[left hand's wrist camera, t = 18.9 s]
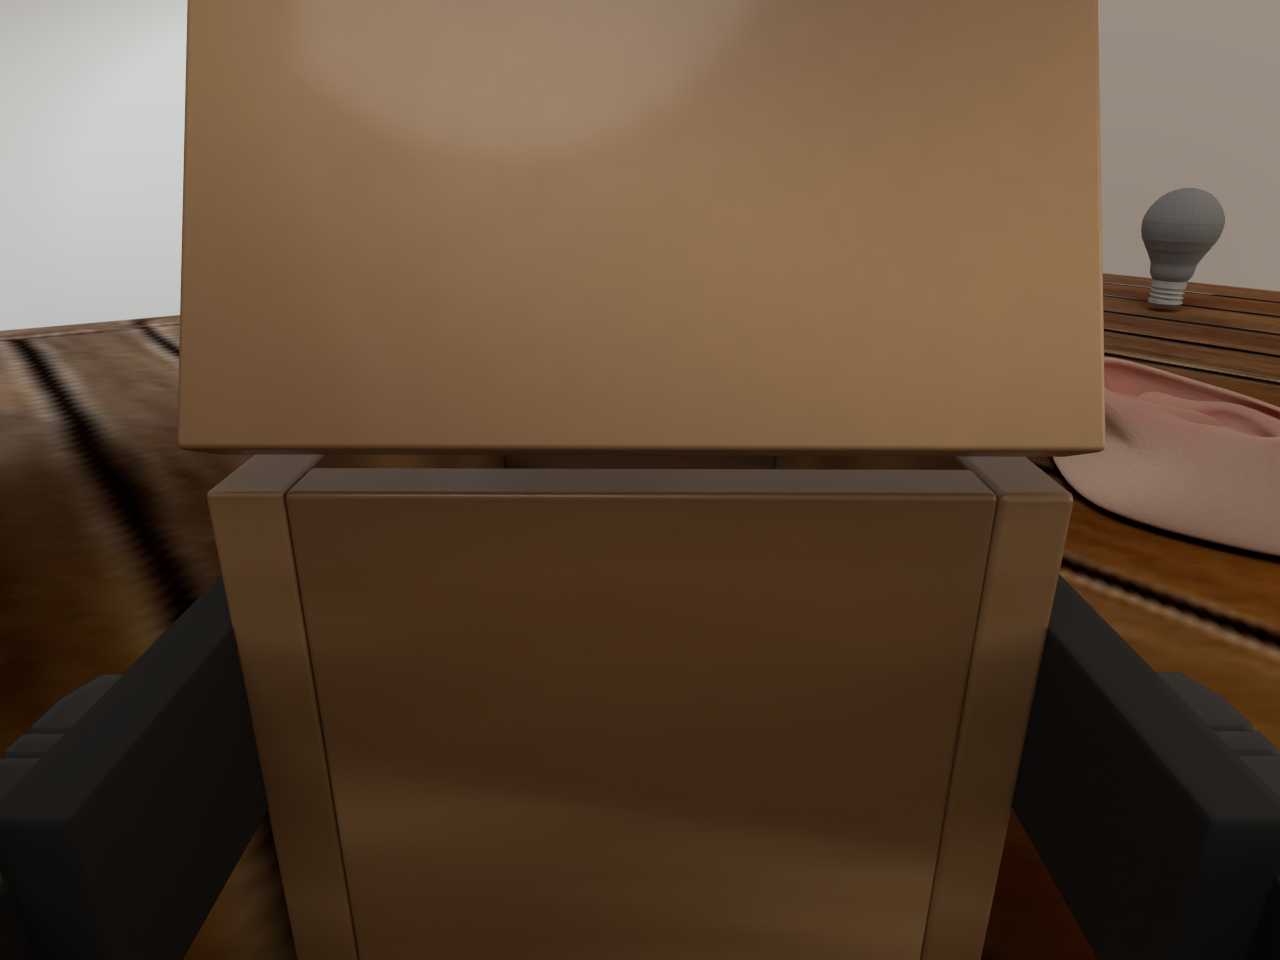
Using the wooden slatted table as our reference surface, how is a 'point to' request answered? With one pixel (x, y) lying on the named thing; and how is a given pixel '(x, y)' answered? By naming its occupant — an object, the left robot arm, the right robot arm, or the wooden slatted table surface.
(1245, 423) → the anatomical model
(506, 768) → the chest
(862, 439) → the lid
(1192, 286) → the wooden slatted table surface
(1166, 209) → the light bulb
